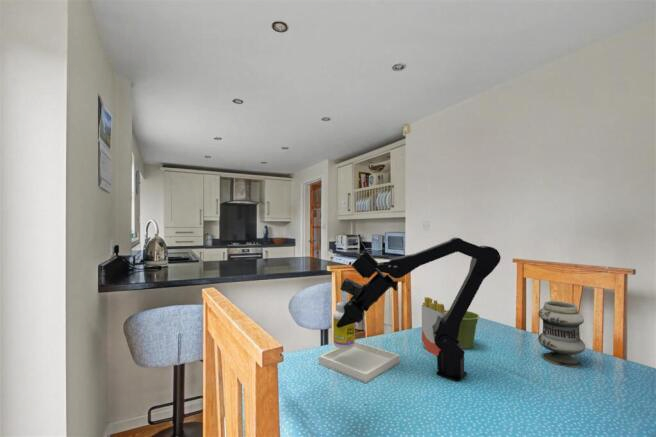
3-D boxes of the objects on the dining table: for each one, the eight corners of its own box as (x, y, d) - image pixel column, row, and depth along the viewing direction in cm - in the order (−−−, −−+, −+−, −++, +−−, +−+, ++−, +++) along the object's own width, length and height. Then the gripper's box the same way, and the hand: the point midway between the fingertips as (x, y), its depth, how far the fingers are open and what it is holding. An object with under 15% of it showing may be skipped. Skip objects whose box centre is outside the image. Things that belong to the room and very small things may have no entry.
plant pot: (448, 337, 121) (448, 308, 121) (482, 344, 114) (482, 313, 114) (439, 347, 111) (439, 315, 112) (476, 355, 104) (475, 320, 105)
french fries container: (432, 345, 112) (432, 295, 113) (453, 357, 102) (452, 302, 103) (421, 347, 111) (421, 296, 112) (441, 359, 101) (440, 303, 101)
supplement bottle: (348, 350, 94) (347, 307, 94) (329, 346, 97) (329, 304, 98) (358, 343, 99) (358, 302, 100) (340, 339, 103) (340, 300, 103)
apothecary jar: (543, 364, 97) (542, 306, 98) (534, 350, 108) (533, 298, 109) (592, 371, 92) (590, 310, 93) (577, 356, 104) (576, 301, 104)
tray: (399, 362, 98) (399, 354, 98) (366, 383, 85) (366, 374, 85) (354, 347, 110) (354, 340, 110) (318, 363, 97) (318, 356, 97)
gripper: (360, 266, 107) (329, 297, 109) (350, 274, 89) (313, 311, 91) (384, 290, 105) (351, 322, 107) (378, 304, 87) (340, 341, 89)
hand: (339, 323), depth 99 cm, fingers closed on supplement bottle, 7 cm apart
